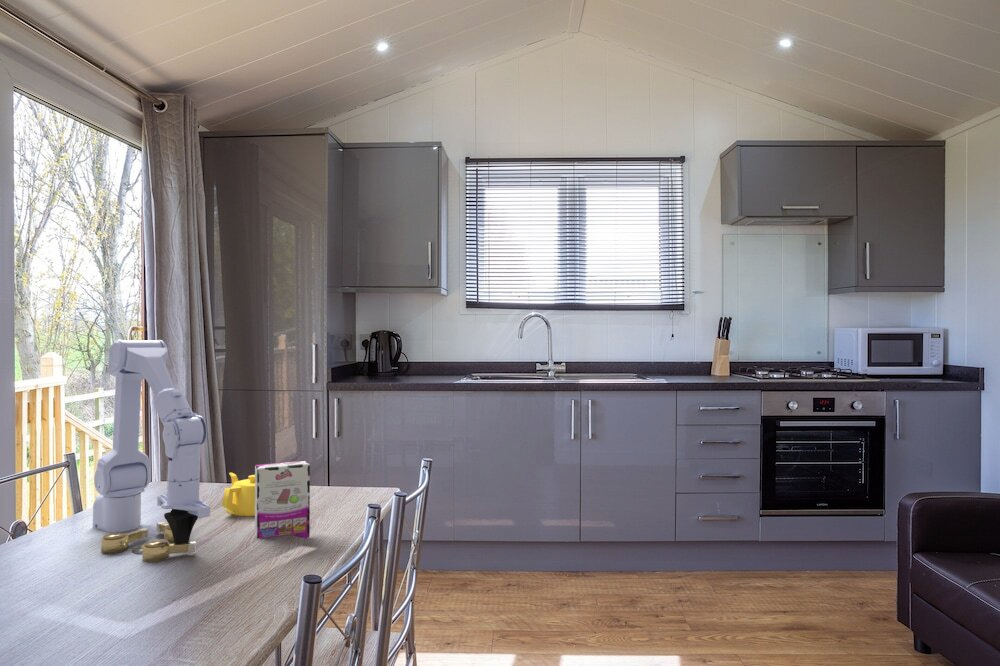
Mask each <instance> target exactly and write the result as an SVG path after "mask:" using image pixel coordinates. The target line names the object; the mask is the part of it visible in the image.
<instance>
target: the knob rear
mask: <svg viewBox="0 0 1000 666" xmlns="http://www.w3.org/2000/svg"><path fill="white" fill-rule="evenodd" d="M156 532H158V533H163V534H164V535H163V537H164V538H163V539H165V540H168V542H169V543H170V544H174V538H173V534H172V531H171V528H170V526H169V524H168V522H166V521H161V522H160V521H159V522H156Z"/></svg>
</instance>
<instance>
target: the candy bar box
mask: <svg viewBox="0 0 1000 666" xmlns="http://www.w3.org/2000/svg"><path fill="white" fill-rule="evenodd" d="M310 466H311V464H310V463H309V462H308V461H307V460H300V461H299V460H298V461H286V462H278V463H277V462H276V463H264V464H255V466H254V475H255V516H254V533H255V536H256V538H257V539H261V538H269V537H270V538H271V537H278V536H285V535H287V536H288V535H292V537H297V538H304V539H308V538H310V532H311V531H310V530H311V529H310V528H311V527H310V525H311V524H310V523H311V522H310V521H311V519H310V518H311V517H310V516H311V513H310V511H311V509H310V508H311V504H310V499H311V498H310V497H311V495H310V494H311V490H310V489H311V488H310V487H311V482H310V481H311V479H310V476H311V472H310V471H311V467H310Z"/></svg>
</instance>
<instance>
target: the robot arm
mask: <svg viewBox="0 0 1000 666" xmlns="http://www.w3.org/2000/svg"><path fill="white" fill-rule="evenodd" d="M168 359H169V350H168V346H167V344H166V343H165V342H164V340H162V339H156V340H144V339H143V340H142V339H141V340H138V339H136V340H132V339H131V340H129V339H127V340H126V339H123V340H122V339H117V340H116V339H115V340H114V342H113V343H112V345H111V346H110V348H109V352H108V375H109V376H112V377H115V387H114V388H115V391H114V392H115V393H114V409H113V410H114V412H113V414H114V415H113V416H114V417H113V435H112V449H111V450H110V451H108V452H107V453H106V454H104V455H103V456H101V457H100V458H99V459H98V460H97V463H96V470H95V473H94V476H93V480H94V487H95V491H96V492H97V493H98V495H97V497H96V498H95V500H94V501H93V505H92V528H93V529H96V530H102V531H104V532H107V533H108V532H109V533H113V532H127V531H132V530H135V529H138V528H140V527H141V524H142V520H141V519H142V493H144V492H145V489H146V488H147V487H149V484H150V483H151V479H152V471H151V466H150V458H149V456H148V455H147V454H146V453H144V452H143V451H141V450H139V439H140V437H139V436H140V435H139V434H140V416H141V397H142V396H141V394H142V381H143V380H144V379H145V380H146V383H147V384H148V386H149V387H150V389H151V391H152V392H153V394H154V395H155V397H154V399H153V407H154V408H155V411H156V413H157V414H158V417H159V420H160V421H161V423H162V425H163V431H162V441H163V443H164V453H165V456H166V457H167V480H166V481H167V485H166V487H167V488H166V489H167V490H166V493H165V494H160V495H157V499H156V500H157V501H156V505H157V506H159V507H161V509H163V510H170V509H171V510H170V512H165V513H164V515H163V516H164V517H163V518H164V519H165V520H166V523H167V524H169V526H170V528H171V531H172V534H173V538H174V543H173V544H178V543H187V542H190V538H191V534H192V531H193V528H194V526H195V525H196V522H197V520H198V519H203V518H207V517H211V506H210V505H209V504H206V503H205V502H204V501H203V500H202V499H200V487H201V486H200V483H201V482H200V481H201V480H200V479H201V478H200V476H201V449H202V448H201V445H203V444H204V443H205V442H206V441H207V437H208V427H207V423H206V420H205V418H204V417H203V416H202V415H198V413H197V412H193V410H192V407H191V406H190V404H189V402H188V400H187V398H186V396H185V395H184V393H183V392H182V390H180V389H177V388H175V387H174V385H173V382H172V379H171V376H170V373H169V371H168V367H167V364H168Z"/></svg>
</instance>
